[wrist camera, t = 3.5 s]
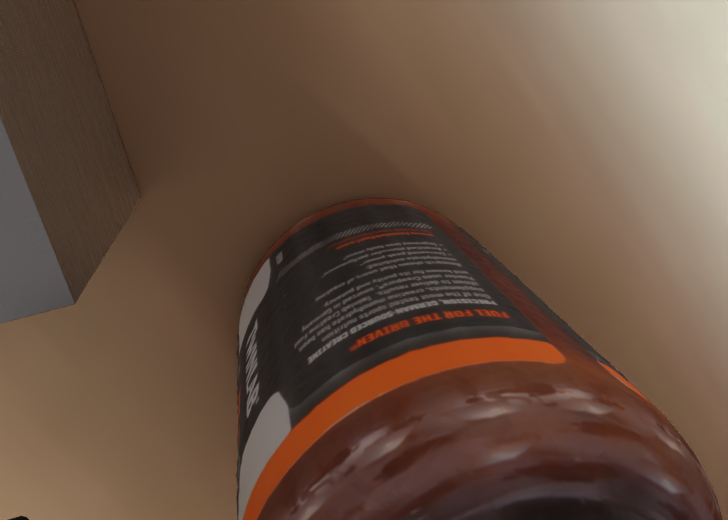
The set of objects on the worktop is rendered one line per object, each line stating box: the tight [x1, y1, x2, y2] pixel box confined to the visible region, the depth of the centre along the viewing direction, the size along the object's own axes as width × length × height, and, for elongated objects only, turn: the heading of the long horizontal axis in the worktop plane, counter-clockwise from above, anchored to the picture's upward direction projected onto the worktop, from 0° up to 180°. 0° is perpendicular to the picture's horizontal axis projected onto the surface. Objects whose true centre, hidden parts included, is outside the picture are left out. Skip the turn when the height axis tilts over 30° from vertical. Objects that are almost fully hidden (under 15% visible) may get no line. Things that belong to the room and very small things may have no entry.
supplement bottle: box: [236, 198, 722, 520], centre depth 11 cm, size 6×6×11 cm
